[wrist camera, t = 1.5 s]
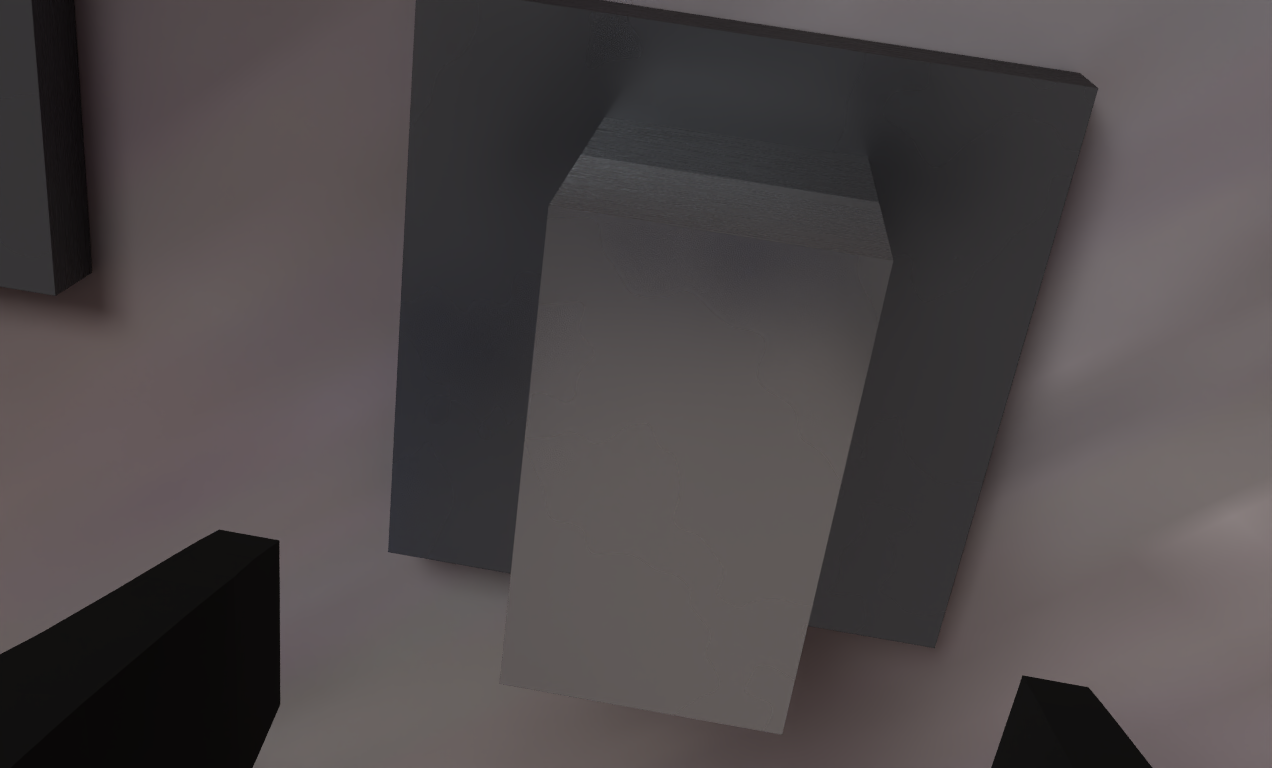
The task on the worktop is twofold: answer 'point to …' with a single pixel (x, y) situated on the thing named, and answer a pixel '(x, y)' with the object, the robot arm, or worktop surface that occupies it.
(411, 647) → the worktop surface
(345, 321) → the worktop surface
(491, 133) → the stand
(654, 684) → the block
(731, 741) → the worktop surface
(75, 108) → the stand
